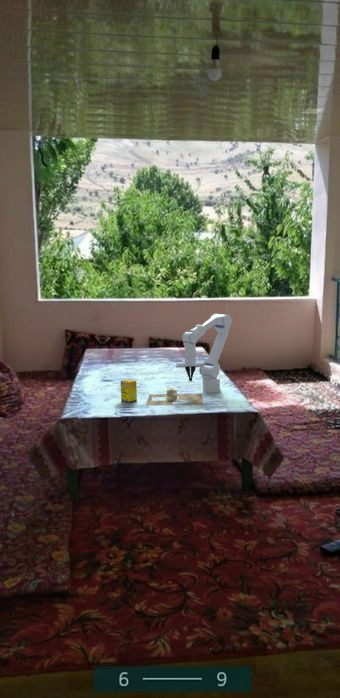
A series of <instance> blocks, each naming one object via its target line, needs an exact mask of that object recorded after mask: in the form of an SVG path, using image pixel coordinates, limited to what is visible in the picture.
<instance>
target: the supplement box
mask: <svg viewBox="0 0 340 698" xmlns="http://www.w3.org/2000/svg"><path fill="white" fill-rule="evenodd" d="M137 390H138V389H137V380H134V379H130V378H128V379H123V380H120V399H121V400H120V401H121V402H124V403H127V404H131V403H134V402H135V403H136V402H137V401H138V393H137Z"/></svg>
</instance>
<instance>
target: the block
mask: <svg viewBox="0 0 340 698" xmlns="http://www.w3.org/2000/svg"><path fill="white" fill-rule="evenodd" d="M166 394H167V400H173V401H178V400H177V394H178V388H177V387H167V388H166Z"/></svg>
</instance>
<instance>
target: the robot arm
mask: <svg viewBox="0 0 340 698" xmlns="http://www.w3.org/2000/svg"><path fill="white" fill-rule="evenodd" d="M232 324H233V320H232V317H231V315H230V314H222V313H220V314H219V313H213V314H212V315H210V318H209V319H208V320H206V321H205V322H204V323H203V324H196V325H195V327H194V328H191V329H190V330H189V331H185V332H184V333H183V334H182V337H181V340H182V342H183V346H184V362H179V363H176V364H175V366H176V368H178V369H179V368H184V369H185V372H186V374H187V376H188V381H189V382H193V377H194V374H195V371H196V368H199V370H198V371H199V372H198V373H199V374H200V376H201V378H202V392H204V393H221V378H220V377H219V375H220V368H221V365H220V363H219V360H220V357H221V354H222V351H223V349H224V346H225V345H226V344H225V343H226V340H227V339H228V335H229V333H230V332H229V331H230V328H231V325H232ZM213 327H214V328H215V330H216V331H217V335H216V337H215V340H214V342H213V345H212V347H211V349H210V352H209V356H208V358H207V359H204V361H203V362H196V361H197V358H196V355H197V354H196V353H197V352H196V349H197V348H196V346H197V345H196V344H197V342H198V340H199V339H200V338H201V337H202V336H204V335H206V333H207V330H209V329H211V328H213Z"/></svg>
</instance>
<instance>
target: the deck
mask: <svg viewBox="0 0 340 698" xmlns="http://www.w3.org/2000/svg"><path fill="white" fill-rule="evenodd" d="M153 398H165V399H164V400H153ZM203 399H204V398H203V393H177V400H176V401H188V403H174V400H167V393H166V394H165V393H164V394H163V393H157V394H155V393H154V394H152V393H151V394H149V395H148V398H147V401H146V404H145V406H203V405H204V400H203Z"/></svg>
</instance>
